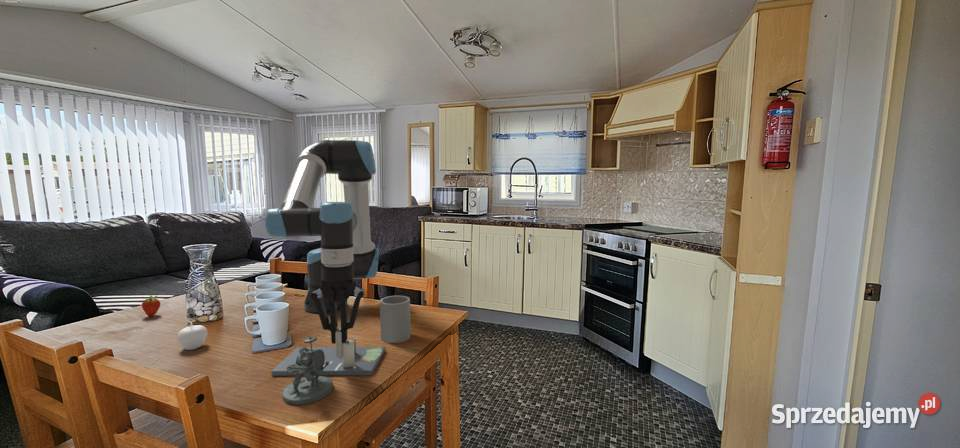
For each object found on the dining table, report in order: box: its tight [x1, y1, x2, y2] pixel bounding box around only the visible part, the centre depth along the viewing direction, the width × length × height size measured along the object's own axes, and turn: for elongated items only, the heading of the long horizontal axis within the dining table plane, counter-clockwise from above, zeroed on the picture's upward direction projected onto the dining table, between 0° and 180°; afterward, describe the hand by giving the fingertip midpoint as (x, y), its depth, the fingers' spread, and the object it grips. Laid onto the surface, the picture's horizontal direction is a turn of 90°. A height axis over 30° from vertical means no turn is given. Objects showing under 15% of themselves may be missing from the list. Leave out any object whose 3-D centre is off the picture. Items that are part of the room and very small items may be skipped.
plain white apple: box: [177, 321, 208, 351], centre depth 111 cm, size 7×7×8 cm
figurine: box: [281, 335, 334, 406], centre depth 87 cm, size 11×11×12 cm
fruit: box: [141, 294, 161, 317], centre depth 137 cm, size 5×5×8 cm
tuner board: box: [270, 346, 386, 377], centre depth 102 cm, size 14×25×1 cm, turn 90°
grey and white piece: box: [342, 338, 357, 367], centre depth 100 cm, size 11×4×6 cm, turn 22°
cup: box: [379, 295, 412, 344], centre depth 118 cm, size 9×9×12 cm
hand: (339, 354), depth 96 cm, fingers closed
